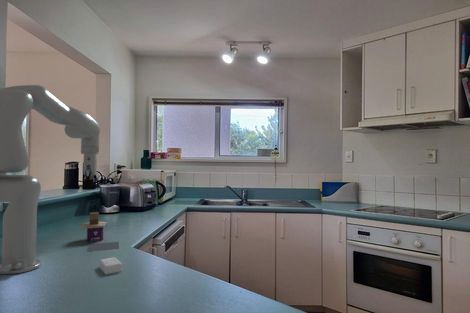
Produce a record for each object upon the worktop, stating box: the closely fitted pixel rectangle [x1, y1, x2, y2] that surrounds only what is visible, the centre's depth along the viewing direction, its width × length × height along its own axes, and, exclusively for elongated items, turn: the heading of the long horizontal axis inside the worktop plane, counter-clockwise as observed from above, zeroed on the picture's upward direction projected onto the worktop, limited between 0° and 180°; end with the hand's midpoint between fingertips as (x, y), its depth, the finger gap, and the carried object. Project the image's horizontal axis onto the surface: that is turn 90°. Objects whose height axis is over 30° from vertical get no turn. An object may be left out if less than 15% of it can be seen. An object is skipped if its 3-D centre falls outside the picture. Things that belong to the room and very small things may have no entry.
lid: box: [80, 211, 108, 229], centre depth 144 cm, size 11×11×6 cm
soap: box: [99, 256, 123, 275], centre depth 106 cm, size 9×6×3 cm, turn 35°
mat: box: [86, 241, 120, 253], centre depth 132 cm, size 12×12×1 cm
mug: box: [86, 227, 104, 243], centre depth 144 cm, size 7×10×7 cm
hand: (89, 187), depth 144 cm, fingers open, 9 cm apart
